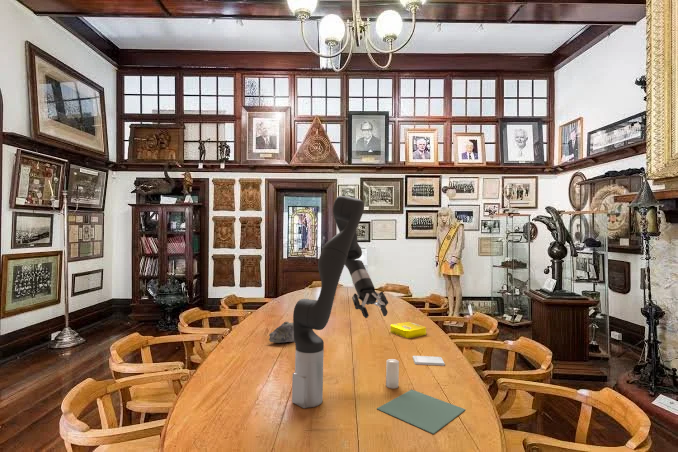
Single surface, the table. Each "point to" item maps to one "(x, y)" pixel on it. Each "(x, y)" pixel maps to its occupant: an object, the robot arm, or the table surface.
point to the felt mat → (421, 411)
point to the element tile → (408, 329)
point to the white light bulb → (392, 373)
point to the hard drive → (428, 360)
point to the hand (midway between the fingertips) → (376, 316)
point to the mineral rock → (283, 333)
